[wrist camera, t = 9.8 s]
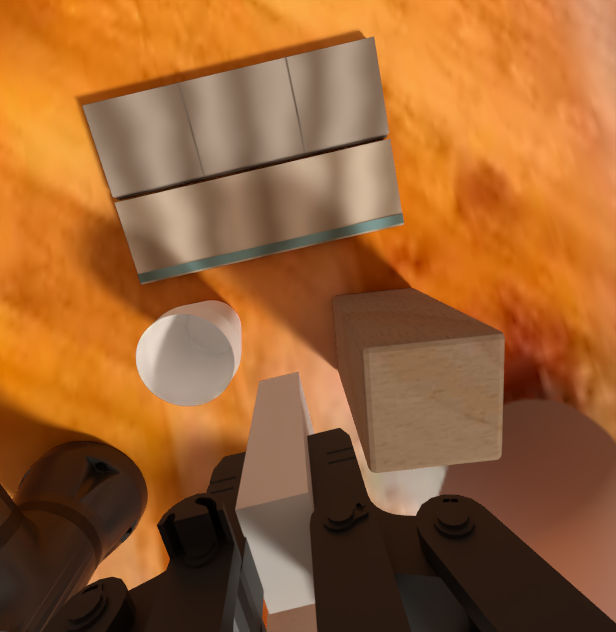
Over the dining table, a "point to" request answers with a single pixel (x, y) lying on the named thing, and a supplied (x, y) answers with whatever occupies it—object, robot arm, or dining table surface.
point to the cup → (191, 353)
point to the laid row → (240, 119)
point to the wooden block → (419, 380)
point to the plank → (262, 212)
